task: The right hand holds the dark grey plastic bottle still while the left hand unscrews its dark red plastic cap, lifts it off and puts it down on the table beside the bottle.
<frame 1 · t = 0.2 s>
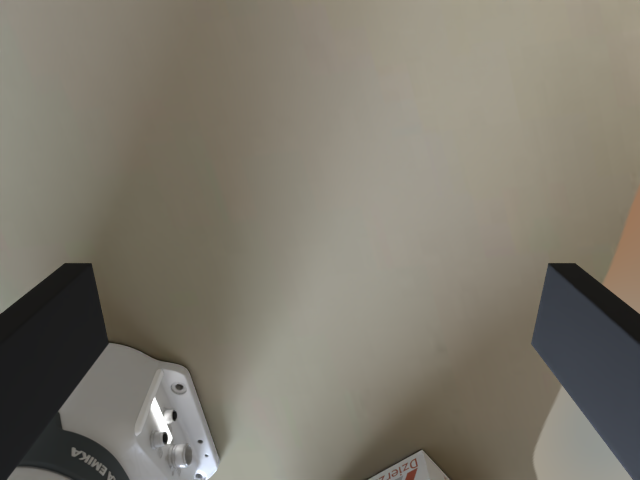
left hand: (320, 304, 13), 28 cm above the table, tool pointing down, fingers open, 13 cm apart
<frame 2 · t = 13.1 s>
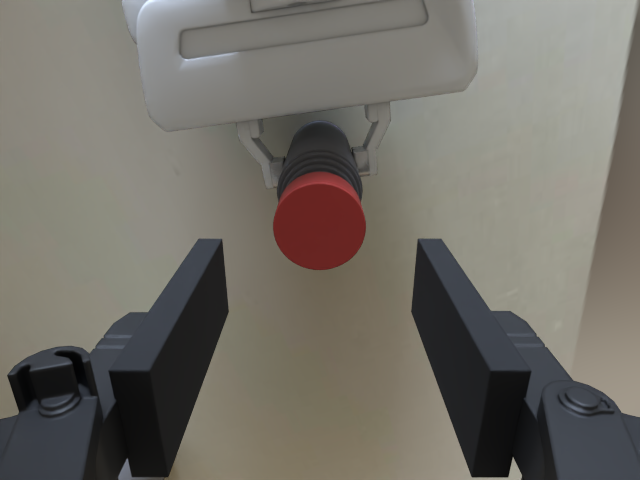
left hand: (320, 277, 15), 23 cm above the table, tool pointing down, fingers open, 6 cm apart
right hand: (322, 180, 30), fingers closed on bottle, 5 cm apart
cap: (319, 226, 19), point 18 cm above the table, screwed on, not yet turned
bottle: (320, 150, 35), on the table, touching right hand
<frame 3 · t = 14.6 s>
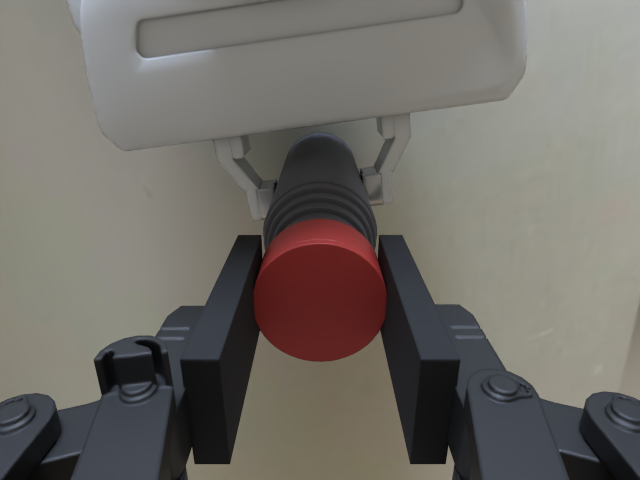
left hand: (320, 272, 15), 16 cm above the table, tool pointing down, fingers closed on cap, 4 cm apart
cap: (320, 300, 13), point 18 cm above the table, screwed on, not yet turned, touching left hand
bottle: (320, 168, 29), on the table, touching right hand
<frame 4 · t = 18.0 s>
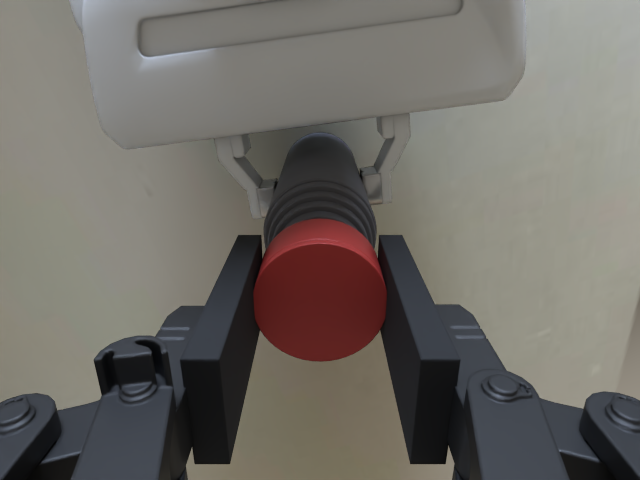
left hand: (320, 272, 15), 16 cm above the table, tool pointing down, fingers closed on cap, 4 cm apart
cap: (320, 300, 13), point 18 cm above the table, turned 120° so far, risen 0.1 cm, still on its thread, touching left hand
bottle: (320, 167, 30), on the table, touching right hand
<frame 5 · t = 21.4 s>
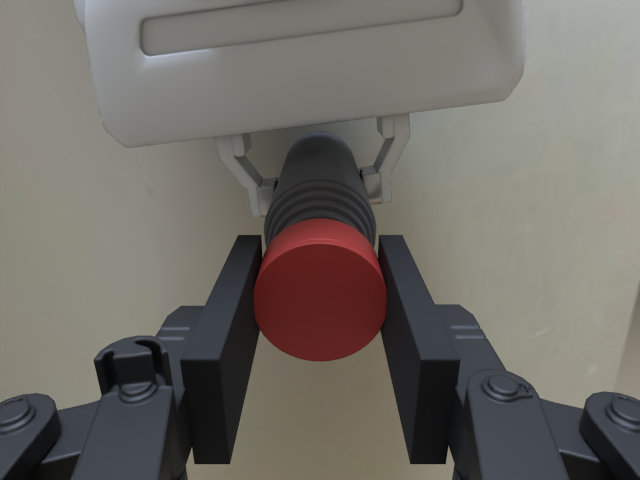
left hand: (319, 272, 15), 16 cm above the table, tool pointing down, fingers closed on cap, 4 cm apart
cap: (320, 300, 13), point 18 cm above the table, turned 241° so far, risen 0.3 cm, still on its thread, touching left hand
bottle: (320, 167, 30), on the table, touching right hand
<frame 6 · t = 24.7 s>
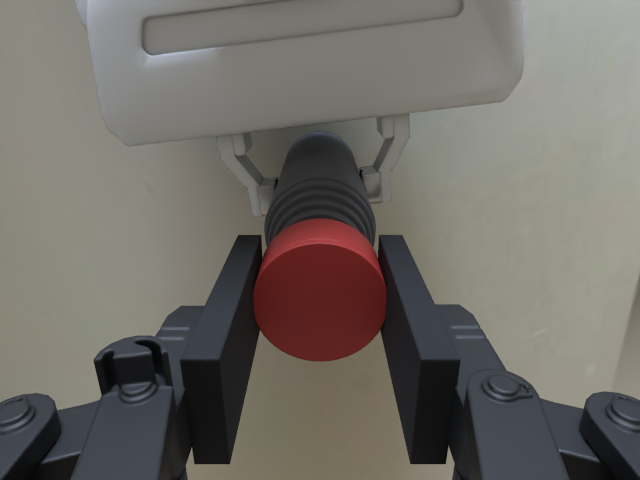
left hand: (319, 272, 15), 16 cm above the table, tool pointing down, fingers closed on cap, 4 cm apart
cap: (320, 300, 13), point 18 cm above the table, turned 361° so far, risen 0.4 cm, still on its thread, touching left hand
bottle: (320, 166, 30), on the table, touching right hand
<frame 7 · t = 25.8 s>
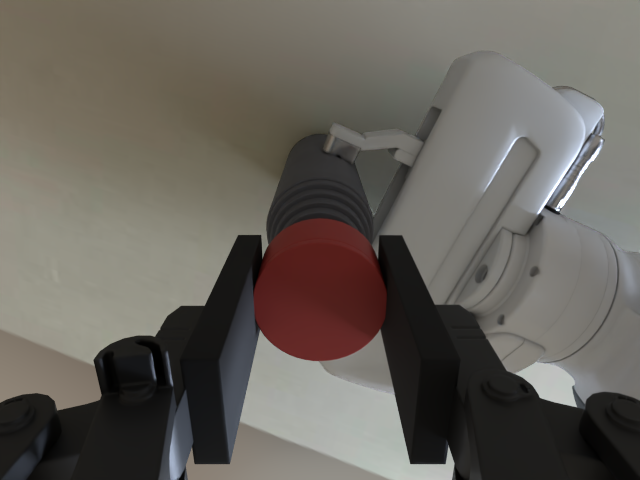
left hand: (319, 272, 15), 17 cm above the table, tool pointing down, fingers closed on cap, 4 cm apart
right hand: (305, 186, 25), fingers closed on bottle, 5 cm apart
cap: (320, 300, 13), point 19 cm above the table, off its thread, touching left hand
bottle: (320, 168, 31), on the table, touching right hand
when the left hand's fingers open (2 cm above the table, at t = 32.2 s): cap drops 2 cm, point 2 cm above the table.
when the right hand's fingers open (6 cm above the table, at t = 33.5 s): bottle stays where it is, on the table.
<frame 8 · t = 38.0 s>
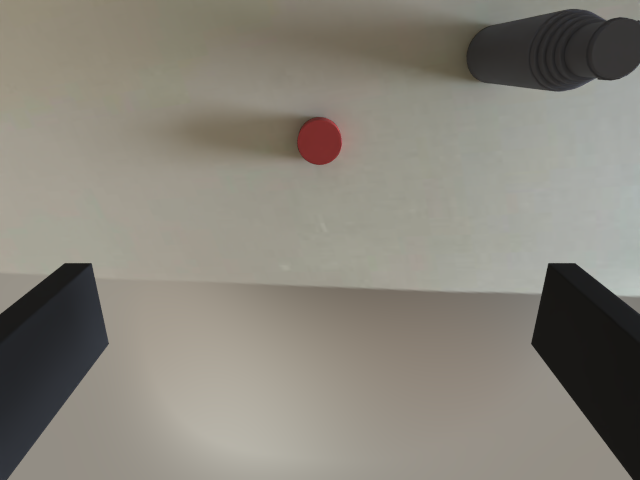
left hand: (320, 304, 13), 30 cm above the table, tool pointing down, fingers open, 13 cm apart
cap: (319, 142, 40), point 2 cm above the table, off its thread
bottle: (493, 54, 39), on the table
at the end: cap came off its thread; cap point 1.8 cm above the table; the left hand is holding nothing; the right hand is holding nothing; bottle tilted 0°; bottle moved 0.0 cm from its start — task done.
